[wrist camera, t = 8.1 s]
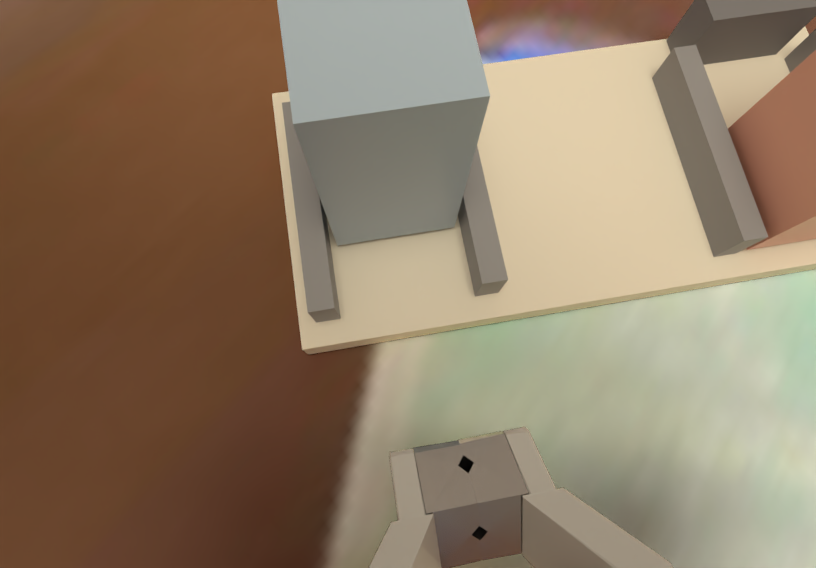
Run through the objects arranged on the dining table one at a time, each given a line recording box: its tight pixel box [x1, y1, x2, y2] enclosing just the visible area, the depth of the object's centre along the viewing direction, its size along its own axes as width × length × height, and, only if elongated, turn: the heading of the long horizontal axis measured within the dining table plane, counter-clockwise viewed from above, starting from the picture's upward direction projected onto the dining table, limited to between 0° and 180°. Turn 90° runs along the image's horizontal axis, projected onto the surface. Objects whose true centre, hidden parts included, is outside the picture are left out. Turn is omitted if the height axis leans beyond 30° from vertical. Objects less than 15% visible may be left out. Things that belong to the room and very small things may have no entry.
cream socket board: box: [272, 0, 816, 354], centre depth 22 cm, size 12×26×4 cm, turn 100°
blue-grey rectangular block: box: [277, 0, 490, 246], centre depth 18 cm, size 5×5×9 cm
